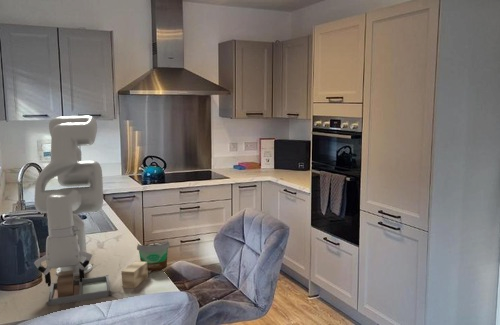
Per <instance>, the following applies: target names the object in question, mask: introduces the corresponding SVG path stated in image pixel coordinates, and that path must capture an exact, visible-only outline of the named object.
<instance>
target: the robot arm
mask: <svg viewBox="0 0 500 325" xmlns="http://www.w3.org/2000/svg"><path fill="white" fill-rule="evenodd" d="M48 130H49V134H50V138H51V143H50V161H49V162H48V164H47V165H46V166H45V167H43V169H42V170H41V172H40V173H39V174H38V176H37V179H36V181H35V183H34V185H35V187H34V208H35V210H36V211H37V212H39V213H42V214H46V216H47V218H46V219H47V227H48V228H47V229H48V236H46V242H45V255H42V256H41V257H39V258H38V259H36V260H35V261H34V263H33V264H34V265H35V267H36V268H37V269H38V272H40V273H43V275H44V279H45V280H44V282H45V284H47V287H50V288H51V284H52V280H51V279H52V277H51V270H52V269H56V270H55V273H56V276H58V273H59V272H63V271H71V270H73V277H77V276H78V277H79V279H80V282H82V279H84V278H85V274H87V273H89V272H91V271H92V270H93V265H92V264H91V263H90V261H91V260H92V258H93V254H92V253H90V252H88V251H87V242H86V240H87V239H86V226H85V225H86V224H85V222H84V221H83V219H82V217H80V216H79V215H78V214H82V213H83V214H86V213H94V212H95V213H96V212H99V211H101V210H102V209H103V205H104V190H103V189H104V187H103V184H104V183H103V170H102V166H101V164H100V163H99V162H98V161H95V160H82V150H81V149H80V147H85V146H86V147H87V146H91V145H93V144H95V141H96V137H97V132H98V122H97V120H96V118H95V117H94V116H93V115H70V116H69V115H67V116H57V117H53V118H51V119H50V121H48ZM56 177H57V182H58V185H60V186H61V187H64V188H60V189H47V190H46V187H47V185H48V183H49V182H50V181H51V180H52V179H54V178H56ZM45 261H46V262H45ZM43 262H45V263H46V267H44V266H43V265H42V263H43Z"/></svg>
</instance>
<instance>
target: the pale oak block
mask: <svg viewBox="0 0 500 325" xmlns="http://www.w3.org/2000/svg"><path fill="white" fill-rule="evenodd" d="M147 278H149V271H148V265H147V262H141V260H139V261H137V260H135V261H134V262H133V263H131V264H130V265H128V266H127V267H126V268H124V269H123V270H121V286H122V288H128V289H129V288H130V289H135V288H136V287H138V286H140V285H141V283H143V282H144V281H145V280H146V279H147Z"/></svg>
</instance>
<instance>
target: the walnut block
mask: <svg viewBox="0 0 500 325" xmlns="http://www.w3.org/2000/svg"><path fill="white" fill-rule="evenodd" d="M74 278H75V276H73V270H71V271H63V272H59V273H58V275H57V280H56V282H57V290H58V298H60V297H67V296H73V295H74V280H75V279H74Z"/></svg>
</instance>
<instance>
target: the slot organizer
mask: <svg viewBox="0 0 500 325" xmlns="http://www.w3.org/2000/svg"><path fill="white" fill-rule="evenodd" d="M104 297H106V298H107V297H112V293H111V283H110V277H109V274H106V275H101V276H92V277H84V278H82V282H80V278H76V279H74V295H73V296H67V297H60V298H58V290H57V281H56V282H51V286H50V291H49V296H48V306H55V305H61V304H68V303H75V302H81V301H87V300H93V299H98V298H104Z"/></svg>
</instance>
